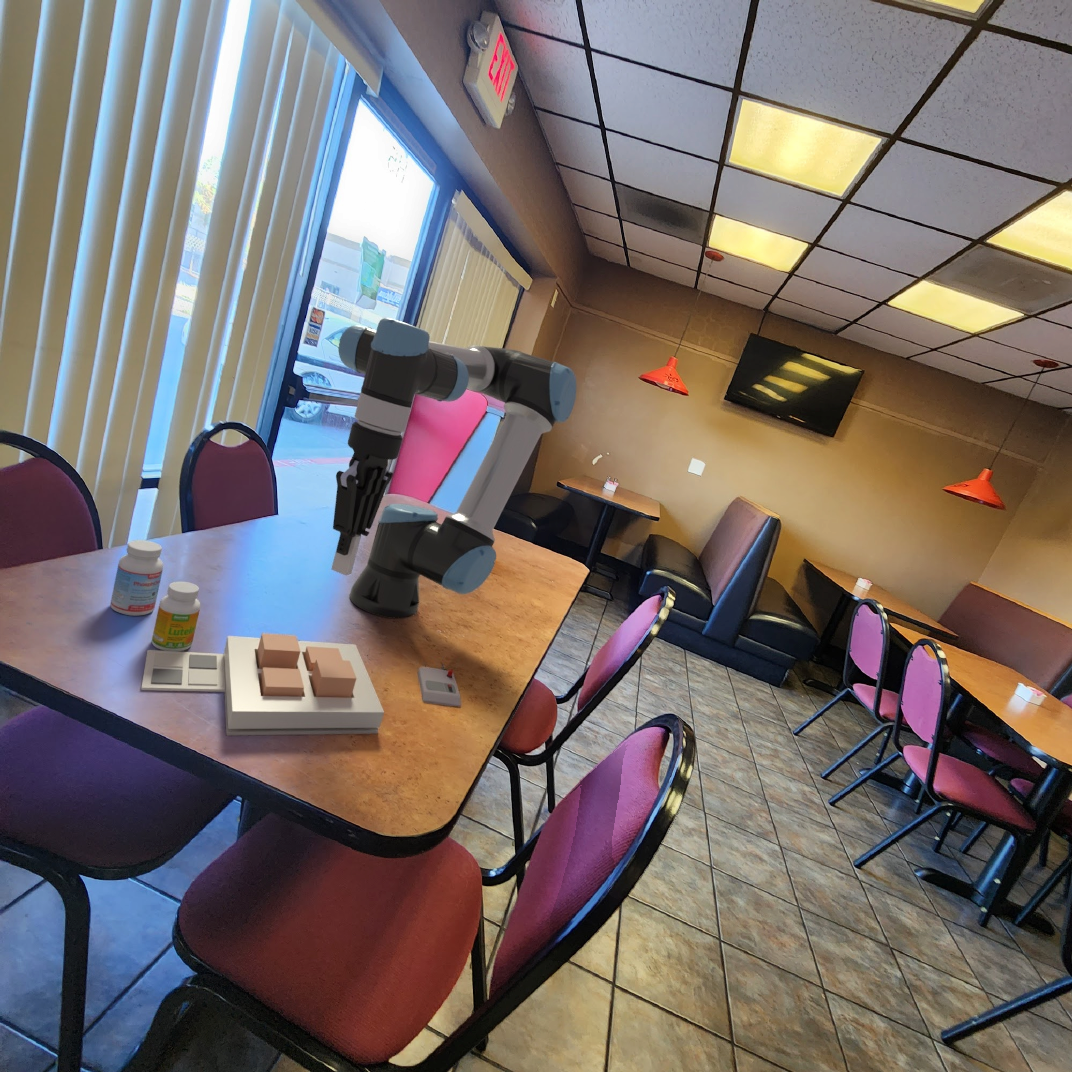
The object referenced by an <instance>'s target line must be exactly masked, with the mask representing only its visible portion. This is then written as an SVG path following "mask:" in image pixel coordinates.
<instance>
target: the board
mask: <svg viewBox="0 0 1072 1072" xmlns="http://www.w3.org/2000/svg"><path fill="white" fill-rule="evenodd" d="M260 638H261V637H250V636H249V637H248V636H236V635H227V638H226V641H225V645H224V650H223V651H224V652H223V653H222V654H223V656H224V677H225V692H224V707H225V708H224V709H225V729H226V730H225V731H226V732H225V733H226V734H225V735H226V736H281V735H282V736H291V735H295V736H296V735H348V734H349V735H354V734H355V735H359V734H362V735H363V734H366V735H367V734H368V735H369V734H378V733H379V728H380V727H381V724H382V721H383V718H384V714H385V711H384V709H383V706H382V704H381V702H380V699H379V697H378V695H377V692H376V690H375V688H374V687H375V686H374V685H373V683H372V680H371V678H370V675H369V673H368V671H367V668H366V666H365V663H364V661H363V659H362V657H361V654H360V652H359V649H358V647H357V644H353V643H337V642H322V641H321V642H320V641H309V640H298V644H299V648H300V655H299V659H298V662H297V666H296V669H300V673H301V677H302V681H303V685H304V690H303V693H302V697H289V696H261V693H260V686H259V681H260V677H261V673H262V669H259V664H258V657H257V650H258V646H259V642H260ZM307 646H309V647H324V648H338V649H339V651H340V654H341V657H342V660H344V661H350V663H351V665H352V668H353V670H354V673H355V676H356V678H357V679H356V682H355V686H354V689H353V692H352V696H351V698H340V697H315V693H314V689H313V686H312V682H311V676H312V673H313V671H307V669H306V665H305V661H304V655H305V651H306V647H307Z"/></svg>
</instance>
